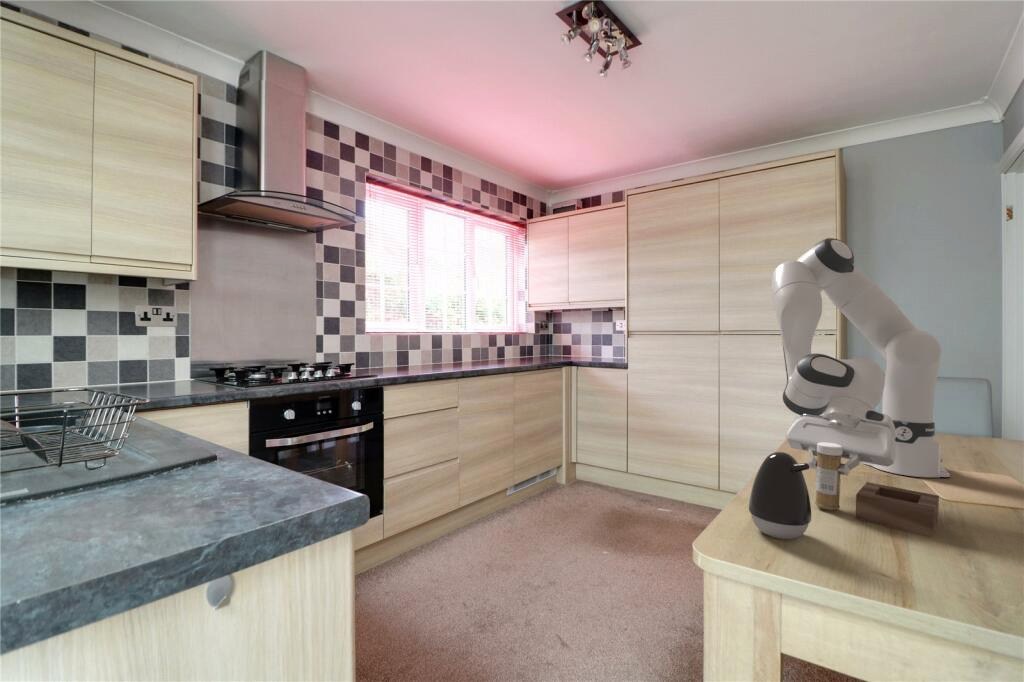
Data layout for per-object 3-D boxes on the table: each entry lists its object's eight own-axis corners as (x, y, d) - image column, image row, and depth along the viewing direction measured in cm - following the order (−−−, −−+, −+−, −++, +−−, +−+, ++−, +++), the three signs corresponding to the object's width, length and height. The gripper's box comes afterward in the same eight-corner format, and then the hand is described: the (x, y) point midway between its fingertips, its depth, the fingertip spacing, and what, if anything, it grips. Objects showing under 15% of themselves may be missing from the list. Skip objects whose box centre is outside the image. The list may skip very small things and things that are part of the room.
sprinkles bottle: (843, 508, 105) (846, 445, 104) (833, 512, 102) (836, 447, 102) (820, 501, 108) (823, 440, 108) (810, 505, 106) (813, 443, 105)
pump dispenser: (785, 549, 85) (788, 462, 84) (735, 527, 94) (738, 448, 94) (824, 541, 89) (828, 457, 88) (773, 519, 98) (776, 444, 98)
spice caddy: (866, 504, 109) (866, 481, 109) (937, 520, 100) (938, 495, 100) (855, 518, 100) (856, 494, 100) (932, 537, 92) (934, 510, 92)
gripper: (793, 404, 117) (772, 450, 112) (899, 417, 101) (881, 472, 95) (801, 421, 120) (781, 467, 114) (905, 436, 104) (888, 491, 98)
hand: (827, 470), depth 105 cm, fingers closed on sprinkles bottle, 4 cm apart
